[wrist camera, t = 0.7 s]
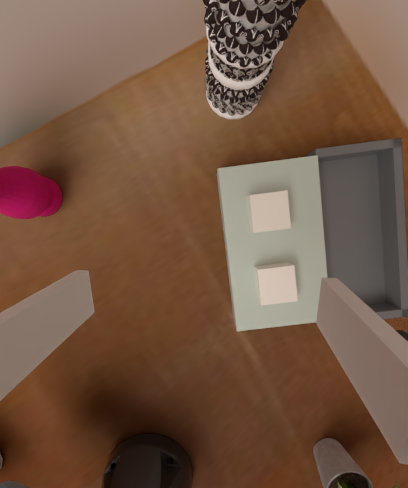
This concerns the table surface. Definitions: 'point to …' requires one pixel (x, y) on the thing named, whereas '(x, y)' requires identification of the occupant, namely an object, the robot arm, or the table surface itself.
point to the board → (273, 239)
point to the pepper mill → (27, 193)
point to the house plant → (338, 466)
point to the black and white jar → (243, 50)
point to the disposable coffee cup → (1, 461)
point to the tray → (366, 222)
